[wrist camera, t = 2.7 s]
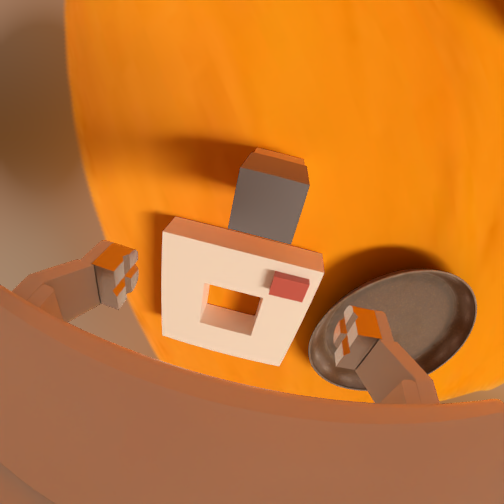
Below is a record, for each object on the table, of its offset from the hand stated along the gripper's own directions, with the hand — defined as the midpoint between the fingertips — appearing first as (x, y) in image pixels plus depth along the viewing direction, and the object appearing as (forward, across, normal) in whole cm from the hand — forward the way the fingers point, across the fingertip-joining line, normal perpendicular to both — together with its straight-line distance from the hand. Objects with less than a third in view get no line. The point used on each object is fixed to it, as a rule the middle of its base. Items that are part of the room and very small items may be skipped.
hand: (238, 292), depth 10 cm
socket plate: (+15, +1, +12) cm, 19 cm away
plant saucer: (+15, -18, +12) cm, 27 cm away
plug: (+14, 0, -1) cm, 14 cm away
